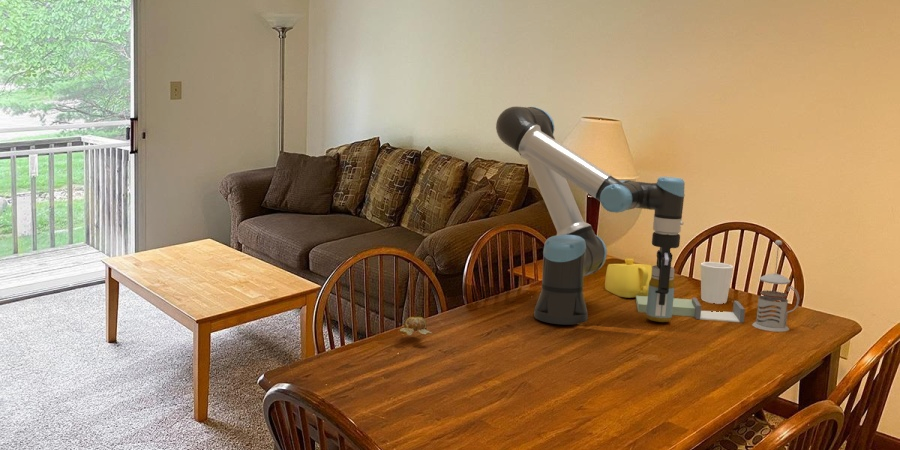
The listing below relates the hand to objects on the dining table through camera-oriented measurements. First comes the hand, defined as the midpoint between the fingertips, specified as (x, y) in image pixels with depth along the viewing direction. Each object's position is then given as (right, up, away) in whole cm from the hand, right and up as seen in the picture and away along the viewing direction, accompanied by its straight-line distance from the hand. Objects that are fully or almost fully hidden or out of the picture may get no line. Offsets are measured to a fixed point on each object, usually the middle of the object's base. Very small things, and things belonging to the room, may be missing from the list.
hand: (659, 312), depth 224 cm
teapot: (-2, +2, +30) cm, 30 cm away
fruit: (-67, -5, -23) cm, 71 cm away
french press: (+32, -4, -1) cm, 33 cm away
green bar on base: (+12, -1, +13) cm, 18 cm away
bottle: (0, -2, 0) cm, 2 cm away
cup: (+24, 0, +25) cm, 35 cm away
